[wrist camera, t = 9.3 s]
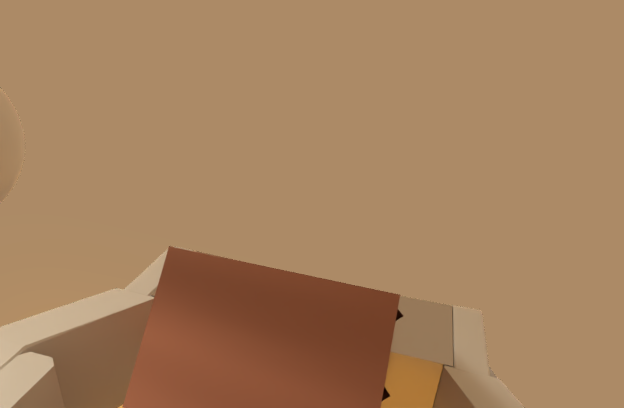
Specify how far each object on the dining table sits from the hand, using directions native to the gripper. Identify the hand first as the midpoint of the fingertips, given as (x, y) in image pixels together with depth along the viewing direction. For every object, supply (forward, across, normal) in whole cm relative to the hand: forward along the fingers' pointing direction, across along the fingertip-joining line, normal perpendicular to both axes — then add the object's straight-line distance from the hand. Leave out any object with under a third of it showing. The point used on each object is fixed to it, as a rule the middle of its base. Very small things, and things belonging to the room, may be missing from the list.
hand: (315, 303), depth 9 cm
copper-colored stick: (+6, 0, +7) cm, 10 cm away
